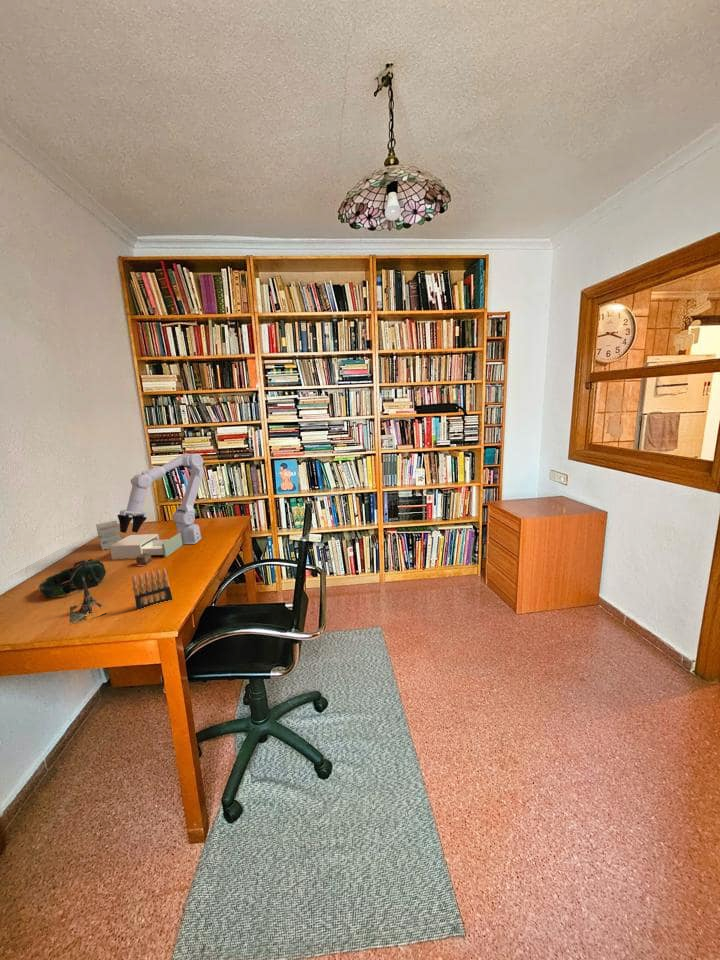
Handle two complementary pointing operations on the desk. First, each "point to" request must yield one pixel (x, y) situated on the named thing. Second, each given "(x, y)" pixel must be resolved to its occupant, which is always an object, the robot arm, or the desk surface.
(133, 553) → the organizer
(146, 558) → the walnut block
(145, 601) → the ammunition clip
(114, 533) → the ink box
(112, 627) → the desk surface
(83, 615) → the eiffel tower figurine
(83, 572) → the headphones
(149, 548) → the drawer
